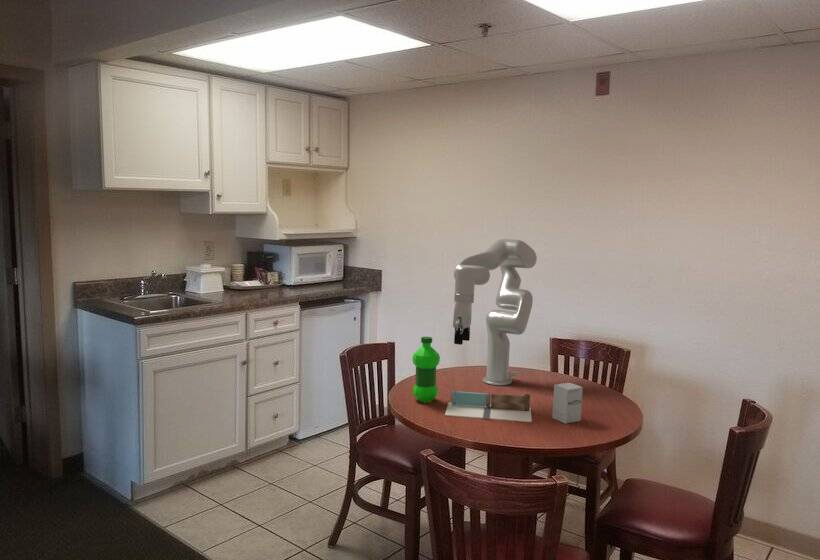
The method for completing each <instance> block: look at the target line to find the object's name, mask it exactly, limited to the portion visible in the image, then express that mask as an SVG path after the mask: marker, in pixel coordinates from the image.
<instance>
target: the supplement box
mask: <svg viewBox="0 0 820 560" xmlns="http://www.w3.org/2000/svg"><path fill="white" fill-rule="evenodd" d="M583 390H584V388H583V386H581V385H577V384H575V383H571V382H564V383H563V382H562V383H556V384H553V400H552V415H551V418H552V419H555V420H557V421H558V422H561V423H563V424H570V423H576V422H581V420H582V409H583V408H582V406H583V404H582V403H583Z"/></svg>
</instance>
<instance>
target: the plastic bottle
mask: <svg viewBox="0 0 820 560" xmlns="http://www.w3.org/2000/svg"><path fill="white" fill-rule="evenodd" d="M420 343H421V345H422V346H421V347H419V349H417V350H416V351H415V352H414V353H413V355H412V363H413V365H414V366H415V383H414V386H413V388H412V393H413V396H414V397H415V398H416V399H417V400H418V401H419V402H420V401H421V403H431V402H432V401H434V399H435V398H436V397H437V395H438V393H439V389H438V385H437V384H436V383H437V367H438V366H439V364H440V360H441V357H440V356H441V355H440V353H439V352H437V350H436V349H434V348H433V346H432V343H433V337H431V336H421V337H420ZM430 401H431V402H430Z"/></svg>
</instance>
